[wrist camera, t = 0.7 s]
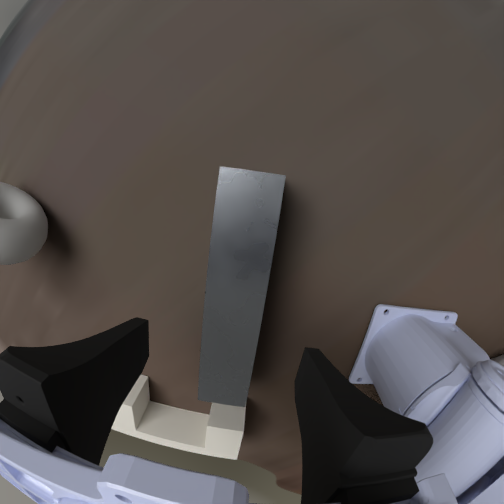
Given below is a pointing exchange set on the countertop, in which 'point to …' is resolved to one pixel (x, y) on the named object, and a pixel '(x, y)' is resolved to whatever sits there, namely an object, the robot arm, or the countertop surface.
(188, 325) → the countertop surface
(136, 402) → the cream u-shaped cradle
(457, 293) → the countertop surface
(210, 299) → the rail
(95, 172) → the countertop surface
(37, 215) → the donut
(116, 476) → the robot arm
